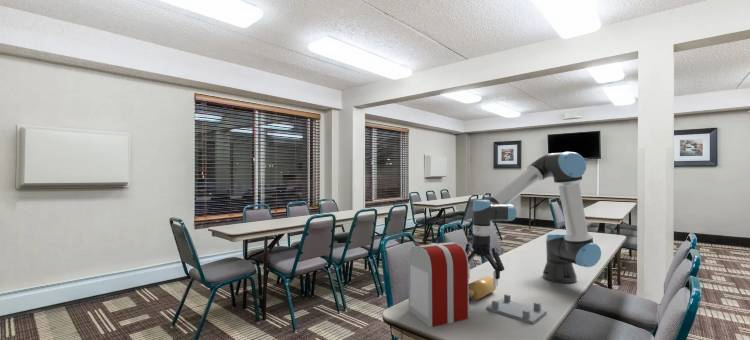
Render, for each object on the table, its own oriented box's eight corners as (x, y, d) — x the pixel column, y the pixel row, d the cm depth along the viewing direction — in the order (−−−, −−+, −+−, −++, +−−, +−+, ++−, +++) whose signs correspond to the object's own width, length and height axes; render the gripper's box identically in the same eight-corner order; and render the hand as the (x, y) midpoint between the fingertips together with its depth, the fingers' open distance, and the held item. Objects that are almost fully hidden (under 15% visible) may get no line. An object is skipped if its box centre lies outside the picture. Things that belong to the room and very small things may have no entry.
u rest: (486, 309, 133) (486, 300, 133) (501, 300, 142) (501, 292, 142) (533, 324, 120) (533, 314, 120) (546, 313, 129) (546, 304, 129)
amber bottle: (482, 290, 156) (481, 275, 156) (496, 293, 151) (495, 277, 151) (459, 301, 143) (459, 284, 143) (474, 305, 138) (473, 288, 138)
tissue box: (407, 309, 133) (407, 242, 134) (444, 302, 140) (444, 238, 140) (430, 327, 118) (429, 251, 118) (470, 318, 125) (469, 246, 125)
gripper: (452, 231, 155) (452, 277, 155) (504, 239, 137) (504, 291, 137) (461, 230, 160) (461, 274, 160) (512, 237, 142) (512, 287, 142)
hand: (481, 282), depth 148 cm, fingers open, 13 cm apart
